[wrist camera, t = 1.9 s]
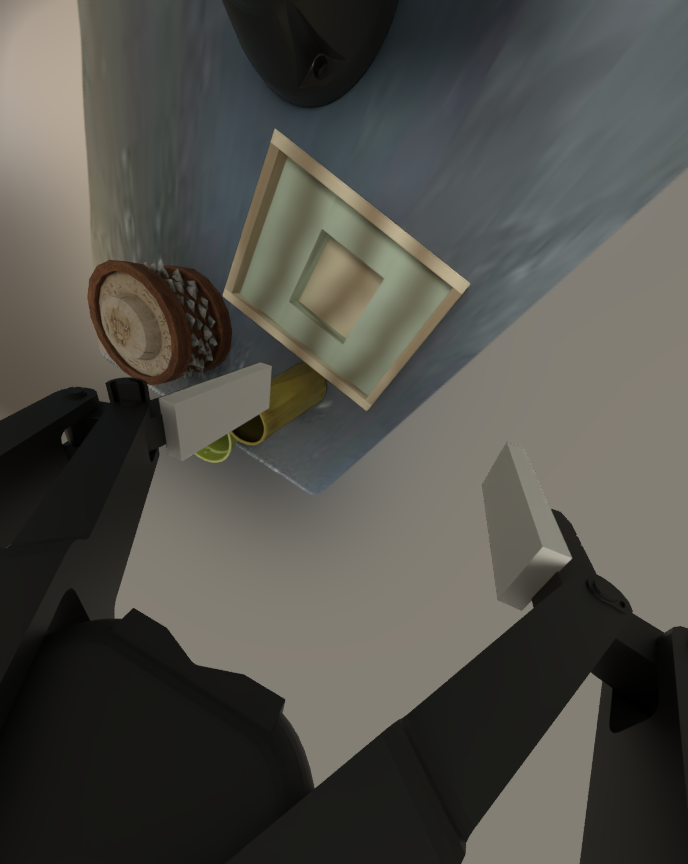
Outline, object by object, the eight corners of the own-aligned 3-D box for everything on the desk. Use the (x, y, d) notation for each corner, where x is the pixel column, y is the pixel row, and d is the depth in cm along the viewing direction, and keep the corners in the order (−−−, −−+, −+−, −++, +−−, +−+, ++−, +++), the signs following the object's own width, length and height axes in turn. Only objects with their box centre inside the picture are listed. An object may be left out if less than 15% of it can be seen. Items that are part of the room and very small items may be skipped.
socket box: (248, 295, 37) (222, 295, 33) (301, 152, 29) (274, 128, 24) (376, 398, 37) (366, 411, 33) (468, 285, 29) (470, 283, 24)
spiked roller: (177, 301, 29) (163, 411, 37) (245, 299, 38) (221, 387, 46) (67, 227, 30) (76, 350, 38) (159, 243, 39) (151, 339, 47)
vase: (313, 355, 38) (246, 383, 26) (334, 394, 39) (280, 439, 27) (281, 373, 41) (208, 407, 29) (302, 410, 42) (241, 456, 30)
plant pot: (215, 379, 46) (169, 396, 38) (265, 390, 43) (226, 410, 36) (222, 430, 50) (182, 453, 43) (268, 442, 47) (233, 469, 40)
